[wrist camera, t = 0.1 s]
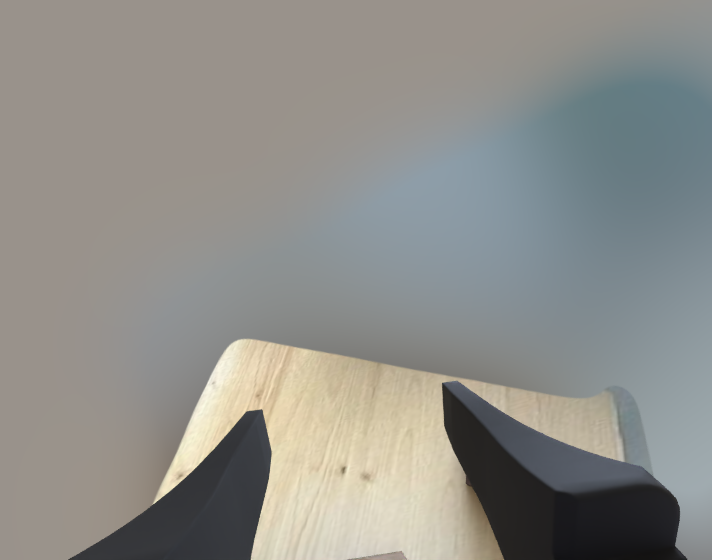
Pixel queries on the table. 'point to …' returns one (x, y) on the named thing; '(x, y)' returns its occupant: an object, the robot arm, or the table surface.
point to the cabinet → (384, 557)
